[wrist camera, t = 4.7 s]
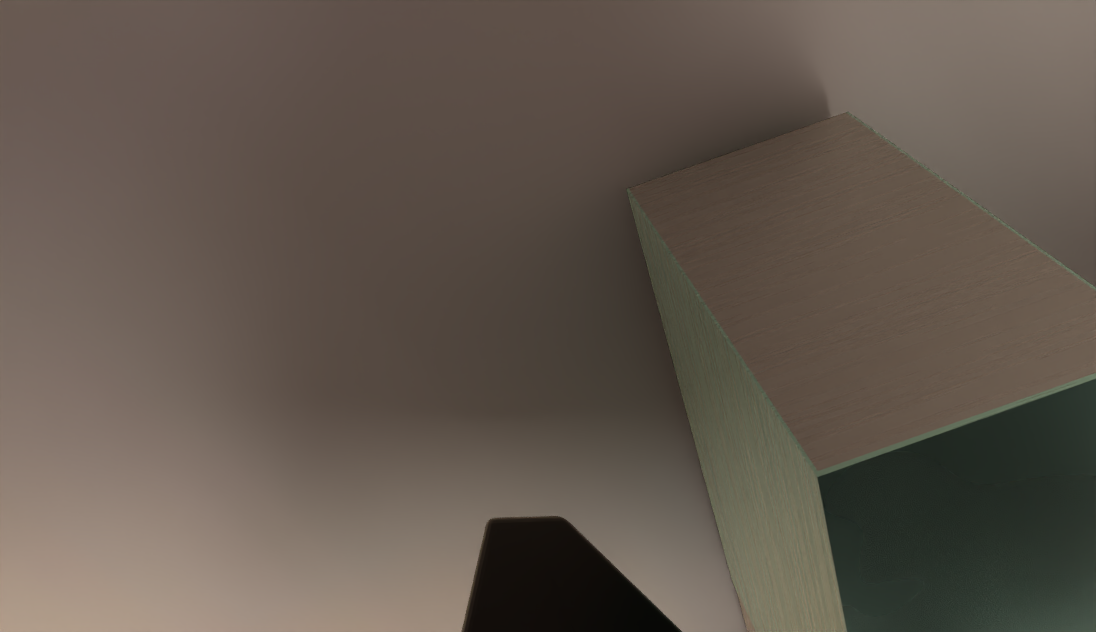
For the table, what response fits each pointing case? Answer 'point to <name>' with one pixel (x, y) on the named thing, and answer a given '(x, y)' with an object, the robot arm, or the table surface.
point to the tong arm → (878, 390)
